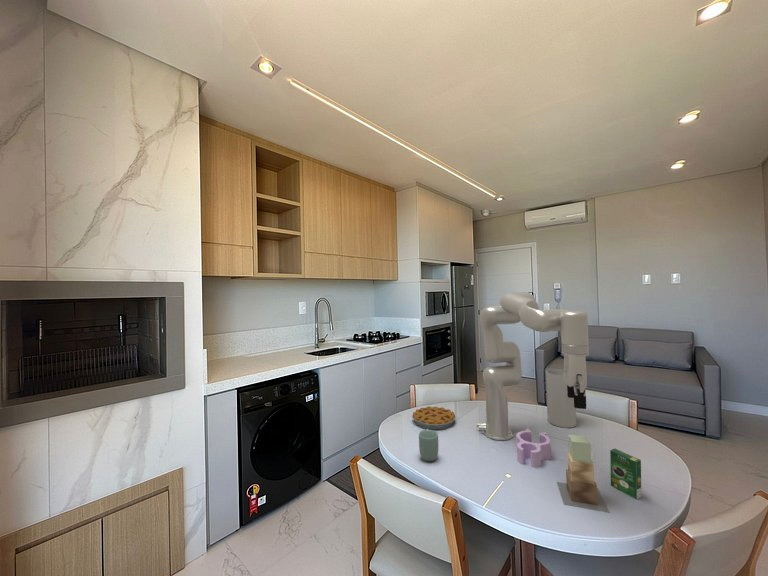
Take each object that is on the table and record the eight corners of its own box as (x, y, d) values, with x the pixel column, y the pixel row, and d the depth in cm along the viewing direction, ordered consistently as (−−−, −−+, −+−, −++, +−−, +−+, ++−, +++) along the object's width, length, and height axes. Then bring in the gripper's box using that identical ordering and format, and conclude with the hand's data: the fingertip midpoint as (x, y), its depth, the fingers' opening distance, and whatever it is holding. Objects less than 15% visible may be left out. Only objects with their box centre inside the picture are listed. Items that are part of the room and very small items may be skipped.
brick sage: (572, 460, 98) (572, 441, 98) (569, 452, 103) (568, 434, 103) (591, 463, 96) (590, 443, 96) (586, 455, 101) (586, 436, 101)
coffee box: (643, 501, 98) (641, 459, 98) (637, 503, 97) (636, 461, 97) (615, 486, 105) (614, 447, 105) (610, 489, 104) (608, 449, 104)
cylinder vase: (576, 420, 158) (574, 371, 158) (576, 430, 147) (574, 377, 147) (548, 416, 164) (547, 368, 165) (546, 425, 154) (544, 374, 154)
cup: (440, 455, 128) (439, 430, 128) (437, 465, 121) (436, 439, 121) (421, 452, 131) (420, 428, 131) (417, 462, 124) (416, 436, 124)
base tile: (563, 508, 96) (563, 504, 96) (556, 485, 107) (556, 481, 107) (610, 517, 91) (610, 512, 91) (598, 491, 103) (597, 488, 103)
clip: (545, 474, 113) (545, 455, 113) (509, 464, 120) (509, 446, 121) (553, 450, 130) (552, 434, 130) (521, 443, 137) (520, 427, 137)
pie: (429, 410, 177) (428, 401, 177) (463, 420, 162) (463, 411, 162) (404, 423, 161) (403, 413, 161) (439, 435, 146) (439, 425, 146)
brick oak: (572, 480, 97) (571, 461, 98) (567, 470, 103) (567, 451, 103) (594, 484, 95) (593, 464, 95) (589, 473, 101) (588, 454, 101)
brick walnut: (571, 500, 97) (570, 481, 97) (566, 487, 104) (565, 469, 104) (597, 505, 95) (597, 485, 95) (591, 491, 101) (590, 472, 101)
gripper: (557, 344, 110) (558, 393, 110) (567, 354, 94) (568, 411, 94) (581, 345, 108) (583, 395, 108) (596, 355, 91) (598, 414, 91)
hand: (576, 402), depth 101 cm, fingers open, 9 cm apart
